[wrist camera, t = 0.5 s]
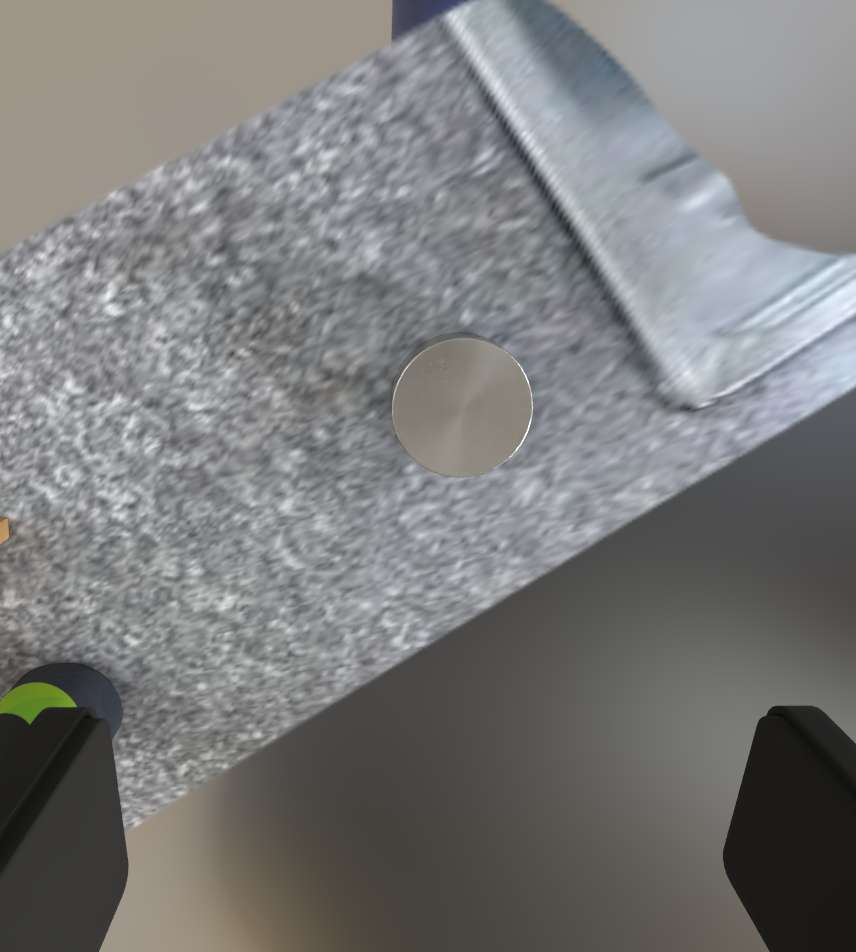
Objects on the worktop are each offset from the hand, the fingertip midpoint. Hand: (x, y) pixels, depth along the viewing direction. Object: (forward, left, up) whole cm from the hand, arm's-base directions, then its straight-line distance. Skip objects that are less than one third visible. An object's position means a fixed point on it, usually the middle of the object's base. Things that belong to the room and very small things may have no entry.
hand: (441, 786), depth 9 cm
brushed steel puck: (-1, +3, -25) cm, 25 cm away
